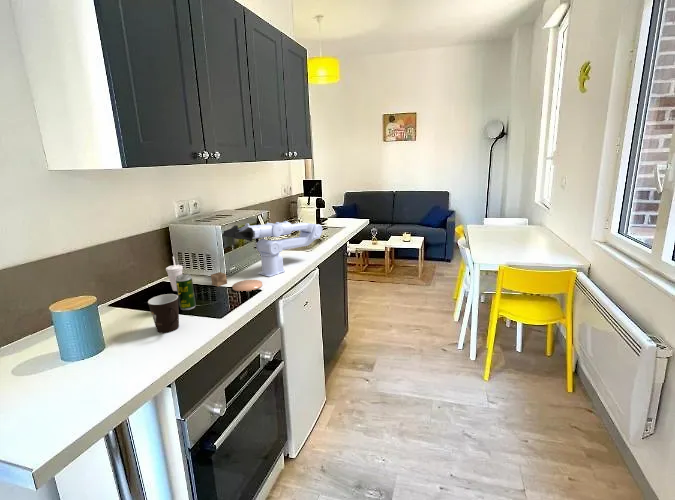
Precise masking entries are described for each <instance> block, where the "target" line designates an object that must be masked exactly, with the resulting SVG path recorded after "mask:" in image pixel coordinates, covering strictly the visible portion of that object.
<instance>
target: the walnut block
mask: <svg viewBox="0 0 675 500" xmlns="http://www.w3.org/2000/svg"><path fill="white" fill-rule="evenodd" d="M210 281H211V285H212V286H215V287H216V288H217V287H221V286H225V285H227V284H228V278H227V273H224V272H221V271H220V272H219V271H218V272H216V273H213V274H210Z"/></svg>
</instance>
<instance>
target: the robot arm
mask: <svg viewBox="0 0 675 500" xmlns="http://www.w3.org/2000/svg"><path fill="white" fill-rule="evenodd" d="M295 231H296V232H298V231H299V232H300V233H299V236H295V237H291V238H290V237H289V238H282V239H276V240H275V239H265V238H268V237H278V238H279V237H281V236H285V235H290V234H292V232H295ZM322 233H323V226H322V225H321V224H319V223H318V224H316V223H309V222H298V223H297V222H296V223H291V222H289V221H288V220H283V221H282V222H280V221H275V223H272V222H267V223H264V224H254V225H250V223H247V222H246V223H245V225H244V226H241V227H240V228H239V226H238V225H233V227H231V228H229V229H226V230H223V237H226V238H233V239H235V240H246V241H248V242H253V240H254V239H259V240H258V241H257V243H256V250H257V251H258V252H259V255H260V261H261V271H260V272H258V275H262V276H265V277H269V278H270V277H272V276H277V275H279V274H281V273H284V272H285V270H284V258H283V255H282V254H281V253H282V252H283V251H284V250H290V249H297V248H301V247H307V246H310V244H312V243H313V242H314V241H315V240H317V239H320V238H321V236H322Z"/></svg>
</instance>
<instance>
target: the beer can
mask: <svg viewBox="0 0 675 500" xmlns="http://www.w3.org/2000/svg"><path fill="white" fill-rule="evenodd" d="M176 286H177V291H176V292H177V295H178V306H179V308H180V310H182V311H190V310H193V309H195V308H196V305H197V304H196V297H195V296H196V295H195V291H194V289H195V288H194V283H193V277H192V274H190V273H182V275H178V276H176Z"/></svg>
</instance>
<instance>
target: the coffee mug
mask: <svg viewBox="0 0 675 500" xmlns="http://www.w3.org/2000/svg"><path fill="white" fill-rule="evenodd" d="M147 305H148V307H149V311H150V314H151V317H152V319H153V323H154V326H155V328H156V331H157V332H158V333H159V334H168V333H171V332H172V333H173V332H174V331H177V330H178V329H179V327H180V320H179V319H180V318H179V317H180V316H179V315H180V313H179V298H178V294H174V293H167V294H165V293H164V294H160V295H157V296H153V297H151V298H150V299H148V301H147Z"/></svg>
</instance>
